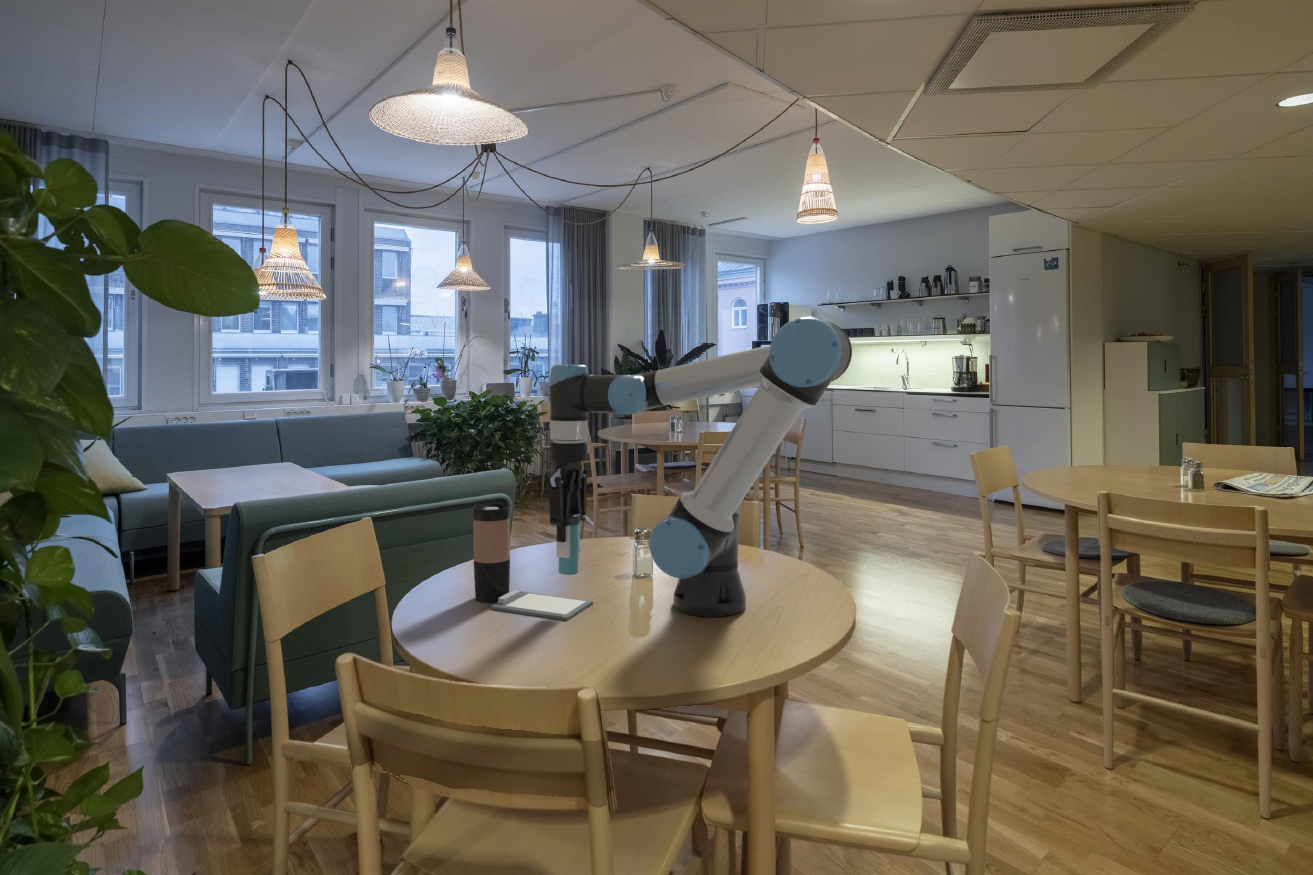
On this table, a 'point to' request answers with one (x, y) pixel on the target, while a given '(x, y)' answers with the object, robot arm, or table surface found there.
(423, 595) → the table surface
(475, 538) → the travel mug
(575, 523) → the marker
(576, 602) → the clipboard
